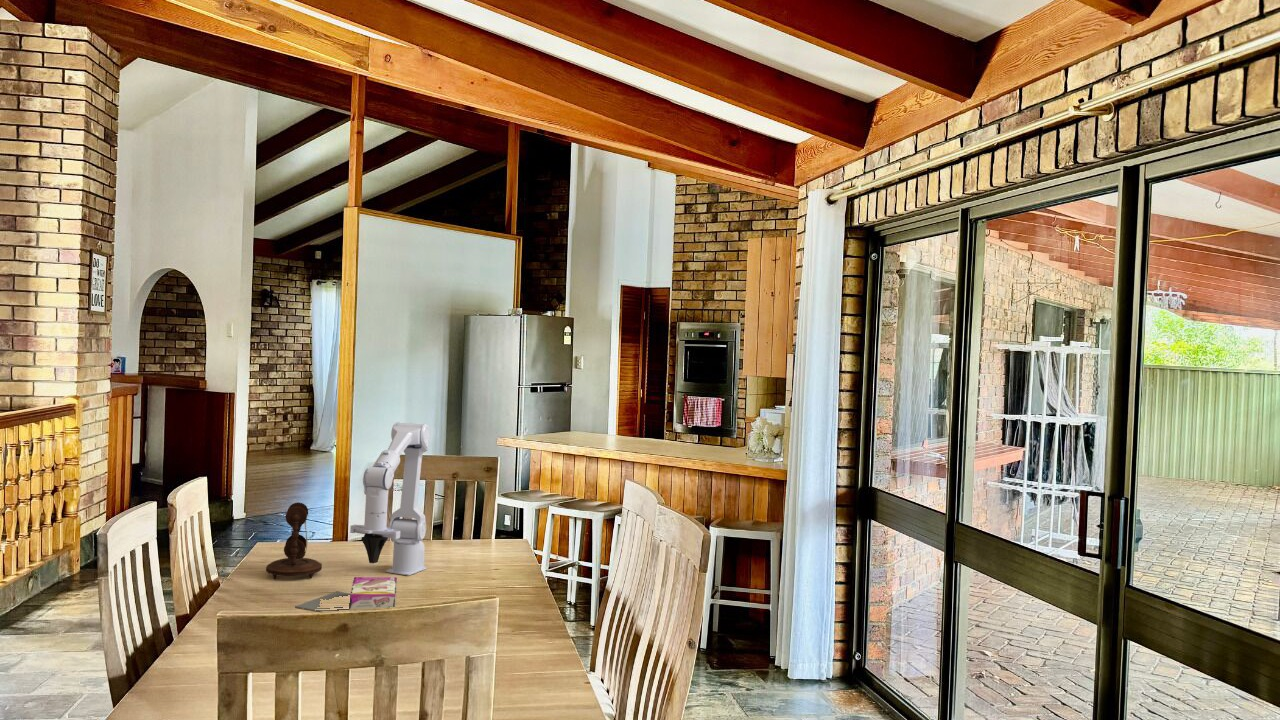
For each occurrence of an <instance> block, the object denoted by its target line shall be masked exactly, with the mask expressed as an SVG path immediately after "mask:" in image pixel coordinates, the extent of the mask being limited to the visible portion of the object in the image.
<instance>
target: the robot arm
mask: <svg viewBox="0 0 1280 720" xmlns="http://www.w3.org/2000/svg"><path fill="white" fill-rule="evenodd" d="M429 427H430V426H429V425H428V424H427V423H413V422H412V423H411V422H408V423H407V422H400V421H396V422H394V424H393V425H392V427H391V433H390V434H391V435H390V437H391V442H390V444H389V446H388V448H387V449H384V450H383V451H382V452H381V453H380V454H379V456H378V457H377V459H376V460H375V462H374V464H373V465H372V466H369V467H367V468H366V469H364V473H363V478H362V484H363V485H362V486H363V488H364V489H363V493H364V495H365V505H364V506H365V508H364V509H365V510H364V525H363V524H352V525H350V528H349V529H350V530H349V533H350V534H355V533H356V534H361V535H363V536H362V537H361V541H362V543H363V545H364V547H365V550H366V551H365V552H366V553H367V558H368V559H367V560H368V563H369V564H377V563H379V558H380V555H381V553H382V550H383V548H384V546H385V544H386V542H387V541H388V539H389V538H390V539H391V542H392V543H393V550H392V551H393V552H392V553H393V554H392V567H391V568H389V569H386V571H385V573H388V574H389V573H390V574H396V575H404V576H412V575H414V574H417V573H419V572H422V571H425V570H427V566H425V555H426V553H425V552H426V547H425V546H426V545H425V543H424V542H423V540H424V538H425V536H426V533H427V532H426V531H427V524H426V522H427V521H426V515H425V514H424V513H423V512H422V511H421V510H420V509H419V508H418V501H419V493H420V492H419V490H420V480H421V474H422V473H421V470H422V461H423V456H424V455H423V454H424V453H425V452H428V450H429V447H430V438H431V437H430V436H431V431H430V428H429ZM402 454H404V455H405V456H404V457H405V458H404V467H403V477H402V486H401V496H400V504H399V505H400V506H399V507H400V508H398V509H397V510H395V511H393V512H392V513H391V515H390V520H389V523H388V522H387V521H388V503H389V490H390V489H391V487H392V485H393V481H394V477H395V472H396V470H397V468H398V466H400V464H401V457H400V456H401V455H402ZM387 525H388V527H387Z"/></svg>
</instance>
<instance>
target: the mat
mask: <svg viewBox="0 0 1280 720" xmlns="http://www.w3.org/2000/svg"><path fill="white" fill-rule="evenodd" d="M350 594H351V592H342V591H338V590H337V591H333V592H332V593H329V594H326V595H323V596H320V597H317V598H315V599H311V600H309V601H306V602H304V603H303V602H302V603H301V604H298V605H295V606H294V608H295V609H300V608H304V609H303V610H307V611H311V610H315V609H330V608H317V607H320V605H319V604H320V601H321V600H320V599H323V600H325V599H326V600H329V599H332V598H334V597H339V596H342V597H343V596H348V595H350ZM321 604H322V603H321ZM334 608H343V607H334ZM339 610H349V609H337V610H316V611H315V612H318V613H321V612H320V611H339Z"/></svg>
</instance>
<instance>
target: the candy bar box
mask: <svg viewBox="0 0 1280 720" xmlns="http://www.w3.org/2000/svg"><path fill="white" fill-rule="evenodd" d="M397 580H398V578H397V577H396V576H393V577H391V576H385V577H383V576H380V577H379V576H354V577H353V580H352V581H353V582H352V586H351V591H350V603H349V610H354V609H374V608H390V607H395V608H396V600H397V599H396V598H397V587H398V586H397V584H398V581H397Z"/></svg>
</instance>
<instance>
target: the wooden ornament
mask: <svg viewBox="0 0 1280 720" xmlns="http://www.w3.org/2000/svg"><path fill="white" fill-rule="evenodd" d="M308 516H309V509H308V507H307V505H306V504H305V503H303V502H293V503H292V504H291V505H289V507H288V508H287V512H286V513H285V521H286V523H287V524H288V525H289V526H290V527H291V528H292V531H291V535H290V536H289V537H288V538H286V541H285V545H284V547H283V554H284V555H285V557H284V558H280V559H276V560H274V561H272V562H270V563H268V564H267V565H266V567H265V572H266V573H267V574H270V575H272V578H273V580H276V579H277V577H278V576H281V577H299V576H308V578H309V579H312V578H313V576H314V574H317V573H319V572H320V571H322V569H323V568H322V567H323V563H321V562H320V561H318V560H316V559H313V558H309V557H308V558H307V557H305V556H306V553H307V549H308V535H307V534H308V533H307V524H306V523H307V519H308ZM303 525H304V529H305V537H304V535H301V534H300V532H301V529H302V526H303Z"/></svg>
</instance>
